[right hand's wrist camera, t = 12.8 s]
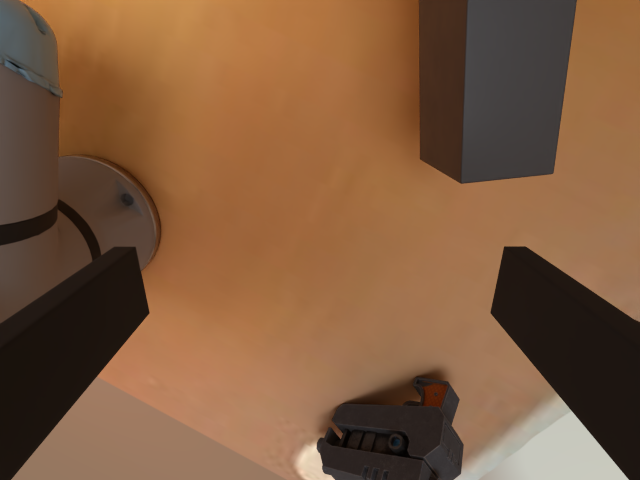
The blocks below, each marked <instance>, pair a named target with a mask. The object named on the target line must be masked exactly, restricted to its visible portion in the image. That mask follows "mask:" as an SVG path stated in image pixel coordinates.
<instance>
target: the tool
mask: <svg viewBox="0 0 640 480" xmlns="http://www.w3.org/2000/svg"><path fill="white" fill-rule="evenodd" d="M413 386H414V387H415V389H416V390H417V392H418V393H419V395H420V396H421V401H420V402H416V401H407V402H405V403H404V404H403V405H402V406H399V405H367V404H342V405H341V406H340V407H338V408H337V410H336V413H335V415H334V417H333V419H332V421H333V422H334V423H335V424H336V426H337V427H338V428H339V429H340V430H341V432H342V433H343V435H342V438H341V439H340V438H339V437H338V435H337V434H336V433H335V432H334V431H333V429H332V428H331V427H329V428H328V430H327V433H326V435H325V437H324V438H320V439H319V440H318V442H317V450H318V452H319V453H320V455H321V459H322V463H323V466H322V469H323V472H324V473H325V474H329V475H332V477H333V478H334V479H335V480H454V479H455V478H456V477H457V476H459V475H460V474H461V467H462V456H463V443H462V441H461V440H460V438H459V436H458V435H457V433H456V432H455V430H454V429H453V427H452V426H451V425H452V422H453V419H454V416H455V412H456V409H457V406H458V403H459V400H460V399H459V398H458V396H457V395H456V393H455V392H454V390H453V388H452V387H451V385H450V384H449V382H447V381H441V380H434V379H428V378H421V377H416V378H415V380H414V383H413Z"/></svg>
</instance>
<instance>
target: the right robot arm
mask: <svg viewBox="0 0 640 480" xmlns="http://www.w3.org/2000/svg"><path fill="white" fill-rule="evenodd" d="M62 96H63V92H62V90H61V89H60V87H59V73H58V57H57V42H56V38H55V35H54V33H53V31H52V29H51V28H50V26H49V25H48V23H47V22H46V21H45V20H44V19H43V17H42V16H41V15H40V14H38V13H37V12H36V11H35V10H34V9H32V8H31V7H29V6H28V5H26V4H25V3H23V2H21V1H19V0H0V480H11V479H12V478H13V477H14V475H15V474H16V473H17V472H18V471H19V469H20V468H21V467H22V466H23V465H24V463H25V462H26V461H27V460H28V459H29V457H30V456H31V455H32V454H33V452H34V451H35V450H36V449H37V448H38V446H39V445H40V444H41V443H42V442H43V441H44V439H45V438H46V437H47V436H48V435H49V433H50V432H51V431H52V430H53V429H54V427H55V426H56V425H57V424H58V422H59V421H60V420H61V419H62V418H63V416H64V415H65V414H66V413H67V412H68V410H69V409H70V408H71V407H72V406H73V404H74V403H75V402H76V401H77V400H78V398H79V397H80V396H81V395H82V394H83V392H84V391H85V390H86V389H87V388H88V386H89V385H90V384H91V383H92V382H93V380H94V379H95V378H96V377H97V376H98V374H99V373H100V372H101V371H102V370H103V368H104V367H105V366H106V365H107V364H108V362H109V361H110V360H111V359H112V358H113V356H114V355H115V354H116V353H117V351H118V350H119V349H120V348H121V347H122V345H123V344H124V343H125V342H126V341H127V339H128V338H129V337H130V336H131V335H132V333H133V332H134V331H135V330H136V329H137V327H138V326H139V325H140V324H141V323H142V321H143V320H144V319H145V318H146V317H147V315H148V314H149V308H148V303H147V299H146V294H145V289H144V284H143V279H142V274H141V271H142V270H143V269H144V268H145V267H146V266H147V265H148V264H149V263H150V262H151V260H152V259H153V257H154V256H155V254H156V252H157V249H158V246H159V242H160V233H161V231H160V221H159V217H158V213H157V210H156V207H155V205H154V203H153V201H152V199H151V198H150V196H149V194H148V193H147V191H146V190H145V189H144V188H143V186H142V185H141V184H140V183H139V182H138V181H137V180H136V179H135V178H134V177H133V176H132V175H131V174H129V173H128V172H127V171H125V170H124V169H122V168H121V167H119V166H117V165H116V164H114V163H112V162H109V161H107V160H105V159H101V158H98V157H94V156H89V155H68V156H62V157H58V151H59V109H60V98H62ZM491 314H492V315H493V317H494V318H495V319H496V320H497V321H498V323H499V324H500V325H501V326H502V327H503V329H504V330H505V331H506V332H507V333H508V335H509V336H510V337H511V338H512V339H513V341H514V342H515V343H516V344H517V345H518V347H519V348H520V349H521V350H522V351H523V353H524V354H525V355H526V356H527V358H528V359H529V360H530V361H531V362H532V364H533V365H534V366H535V367H536V368H537V370H538V371H539V372H540V373H541V374H542V376H543V377H544V378H545V379H546V380H547V382H548V383H549V384H550V385H551V386H552V388H553V389H554V390H555V391H556V392H557V394H558V395H559V396H560V397H561V398H562V400H563V401H564V402H565V403H566V404H567V406H568V407H569V408H570V409H571V410H572V412H573V413H574V414H575V415H576V416H577V418H578V419H579V420H580V421H581V422H582V424H583V425H584V426H585V427H586V428H587V430H588V431H589V432H590V433H591V435H592V436H593V437H594V438H595V439H596V440H597V442H598V443H599V444H600V445H601V447H602V448H603V449H604V450H605V451H606V453H607V454H608V455H609V456H610V457H611V459H612V460H613V461H614V462H615V463H616V465H617V466H618V467H619V468H620V469H621V471H622V472H623V473H624V474H625V475H626V477H627V478H628V479H629V480H640V322H638V321H636V320H634V319H632V318H631V317H629V316H628V315H626V314H625V313H623V312H622V311H620V310H619V309H617V308H616V307H615V306H613V305H612V304H610V303H609V302H607V301H606V300H604V299H603V298H601V297H600V296H598V295H597V294H595V293H594V292H592V291H591V290H589V289H588V288H586V287H585V286H583V285H582V284H580V283H579V282H577V281H576V280H574V279H573V278H572V277H570V276H569V275H567V274H566V273H564V272H563V271H561V270H560V269H558V268H557V267H555V266H554V265H552V264H551V263H549V262H548V261H546V260H545V259H543V258H542V257H540V256H539V255H537V254H536V253H534V252H533V251H531V250H530V249H529V248H527V247H504V250H503V255H502V260H501V265H500V270H499V274H498V279H497V284H496V289H495V294H494V299H493V303H492V308H491Z"/></svg>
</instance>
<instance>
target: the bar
mask: <svg viewBox="0 0 640 480" xmlns="http://www.w3.org/2000/svg"><path fill="white" fill-rule="evenodd" d="M576 2H577V0H419V77H420V160H422V161H424V162H426V163H427V164H429V165H431V166H432V167H434V168H436V169H437V170H439V171H441V172H442V173H444V174H446V175H447V176H449V177H451V178H452V179H454V180H456V181H457V182H459V183H461V184H463V183H473V182H482V181H491V180H501V179H510V178H520V177H529V176H539V175H548V174H553V173H554V165H555V158H556V150H557V143H558V136H559V128H560V121H561V113H562V106H563V99H564V91H565V84H566V76H567V69H568V61H569V54H570V47H571V39H572V32H573V24H574V17H575V10H576Z"/></svg>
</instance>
